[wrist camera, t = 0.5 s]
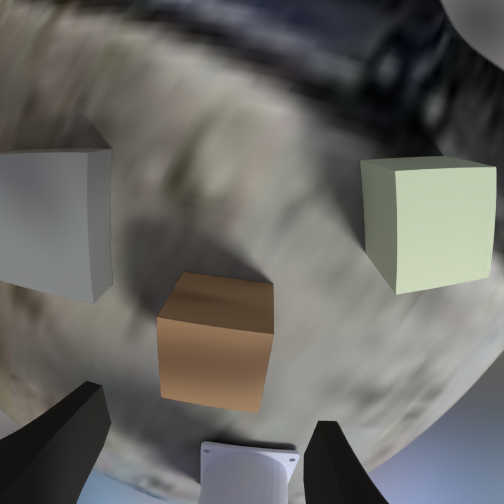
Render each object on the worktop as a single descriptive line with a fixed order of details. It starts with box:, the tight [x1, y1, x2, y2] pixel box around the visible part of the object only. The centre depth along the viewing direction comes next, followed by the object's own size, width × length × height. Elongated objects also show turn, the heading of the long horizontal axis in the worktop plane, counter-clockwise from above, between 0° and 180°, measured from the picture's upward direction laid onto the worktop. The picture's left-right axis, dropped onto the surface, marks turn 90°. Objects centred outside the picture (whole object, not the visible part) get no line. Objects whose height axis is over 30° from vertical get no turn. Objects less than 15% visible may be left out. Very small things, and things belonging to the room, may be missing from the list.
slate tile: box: [0, 149, 113, 304], centre depth 16 cm, size 8×8×3 cm
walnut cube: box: [157, 272, 274, 413], centre depth 16 cm, size 5×5×5 cm
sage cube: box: [360, 156, 496, 294], centre depth 14 cm, size 5×5×5 cm
